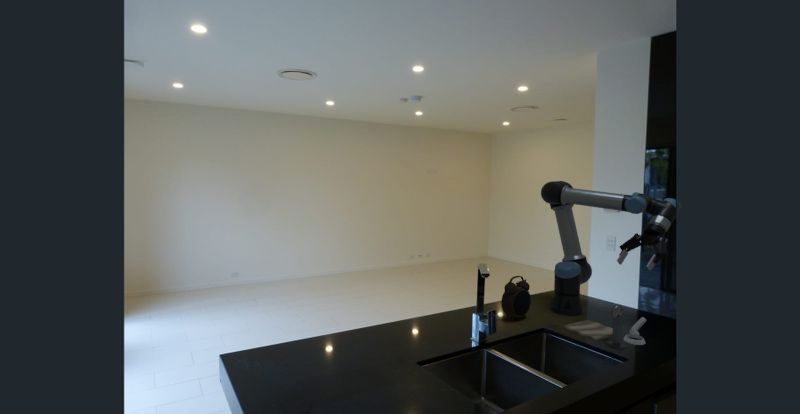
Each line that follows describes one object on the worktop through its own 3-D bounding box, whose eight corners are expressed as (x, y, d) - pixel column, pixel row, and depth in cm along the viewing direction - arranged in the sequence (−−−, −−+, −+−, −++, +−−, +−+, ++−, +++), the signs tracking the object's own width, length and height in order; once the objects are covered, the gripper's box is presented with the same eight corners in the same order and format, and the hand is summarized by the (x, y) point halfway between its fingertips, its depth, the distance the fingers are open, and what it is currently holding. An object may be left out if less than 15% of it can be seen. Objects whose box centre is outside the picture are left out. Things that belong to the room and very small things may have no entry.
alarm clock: (512, 324, 181) (512, 280, 180) (499, 319, 187) (500, 276, 186) (533, 318, 189) (534, 275, 188) (521, 313, 195) (521, 272, 194)
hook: (663, 332, 157) (651, 323, 156) (641, 354, 160) (630, 346, 158) (649, 321, 165) (638, 313, 163) (629, 343, 167) (618, 335, 165)
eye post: (605, 344, 159) (606, 304, 158) (613, 341, 161) (614, 302, 160) (619, 349, 154) (620, 308, 152) (627, 347, 156) (629, 306, 155)
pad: (563, 327, 177) (563, 325, 177) (588, 321, 184) (588, 319, 184) (595, 340, 162) (595, 338, 162) (621, 333, 169) (621, 331, 169)
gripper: (690, 237, 168) (666, 276, 163) (634, 231, 191) (611, 265, 186) (683, 225, 166) (658, 265, 160) (626, 220, 188) (603, 255, 183)
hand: (633, 265), depth 173 cm, fingers open, 13 cm apart
